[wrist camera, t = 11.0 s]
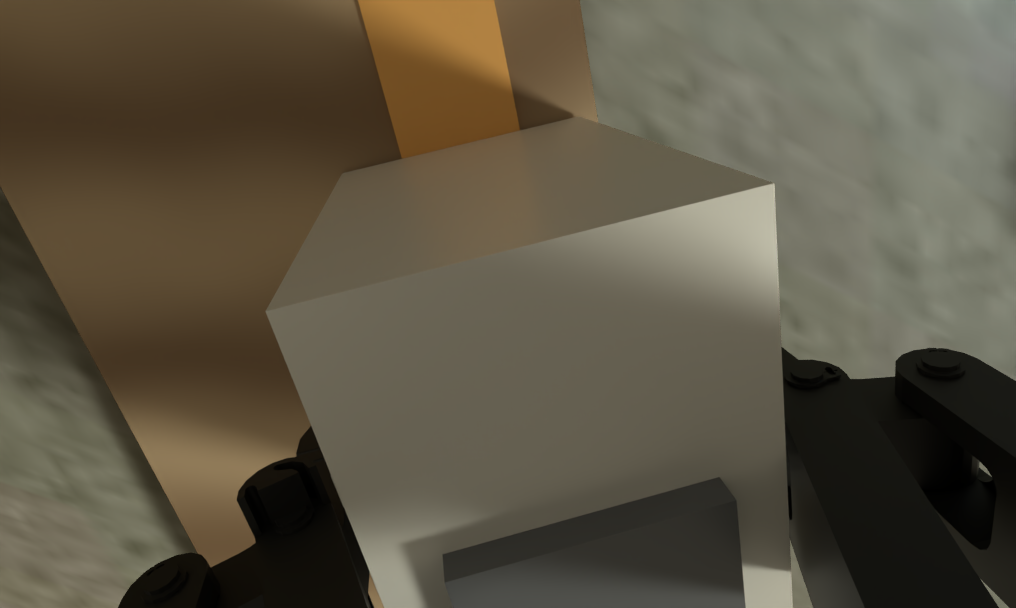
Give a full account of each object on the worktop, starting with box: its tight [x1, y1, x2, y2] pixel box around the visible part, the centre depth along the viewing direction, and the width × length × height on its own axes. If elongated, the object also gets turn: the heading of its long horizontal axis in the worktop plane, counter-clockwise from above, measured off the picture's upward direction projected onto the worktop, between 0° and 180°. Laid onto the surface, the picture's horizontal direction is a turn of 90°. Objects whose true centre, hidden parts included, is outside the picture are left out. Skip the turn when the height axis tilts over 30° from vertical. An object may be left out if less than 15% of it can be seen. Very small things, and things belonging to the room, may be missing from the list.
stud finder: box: [265, 116, 793, 608], centre depth 13 cm, size 10×6×10 cm, turn 12°
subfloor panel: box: [0, 0, 598, 608], centre depth 18 cm, size 27×14×2 cm, turn 12°
